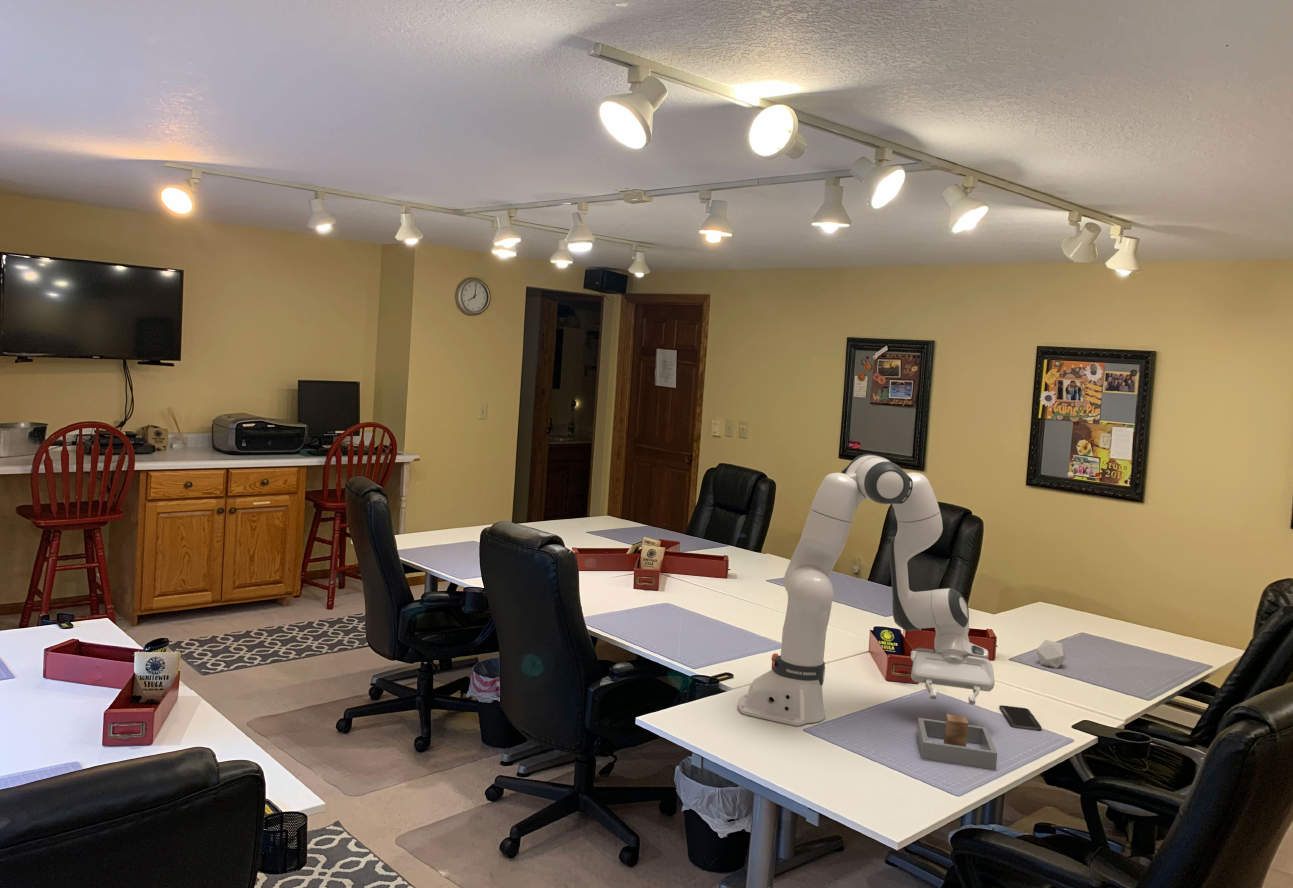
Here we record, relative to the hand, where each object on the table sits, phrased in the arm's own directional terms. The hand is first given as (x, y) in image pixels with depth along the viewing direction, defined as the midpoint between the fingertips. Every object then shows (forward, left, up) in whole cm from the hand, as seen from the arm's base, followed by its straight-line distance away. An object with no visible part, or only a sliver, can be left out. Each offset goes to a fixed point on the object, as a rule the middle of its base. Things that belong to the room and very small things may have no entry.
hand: (952, 700), depth 231 cm
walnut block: (0, -12, -8) cm, 14 cm away
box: (0, -12, -8) cm, 14 cm away
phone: (+20, +18, -9) cm, 28 cm away
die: (+39, +75, -9) cm, 85 cm away
